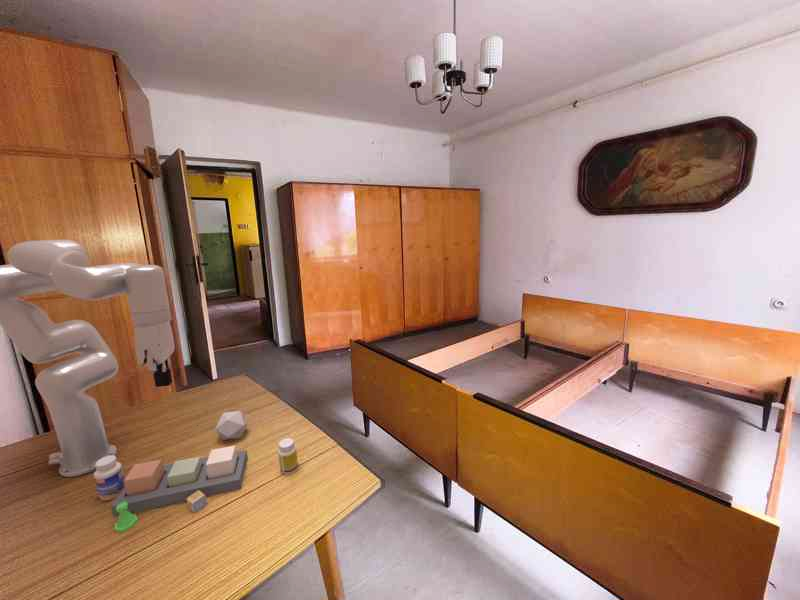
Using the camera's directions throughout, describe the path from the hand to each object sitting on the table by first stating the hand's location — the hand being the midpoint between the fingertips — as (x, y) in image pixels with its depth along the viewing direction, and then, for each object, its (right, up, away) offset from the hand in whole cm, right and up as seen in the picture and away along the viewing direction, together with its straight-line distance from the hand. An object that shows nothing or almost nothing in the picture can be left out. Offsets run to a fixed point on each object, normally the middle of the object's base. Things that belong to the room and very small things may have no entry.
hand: (164, 384), depth 84 cm
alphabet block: (+10, -30, -3) cm, 32 cm away
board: (+4, -28, +4) cm, 28 cm away
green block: (+4, -27, +4) cm, 28 cm away
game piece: (-3, -31, -7) cm, 32 cm away
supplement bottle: (+29, -26, +9) cm, 40 cm away
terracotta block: (-5, -27, +1) cm, 27 cm away
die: (+6, -23, +24) cm, 34 cm away
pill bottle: (-15, -29, +2) cm, 32 cm away
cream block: (+12, -25, +6) cm, 29 cm away
